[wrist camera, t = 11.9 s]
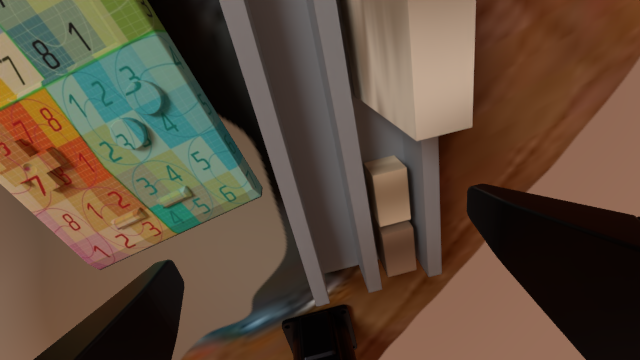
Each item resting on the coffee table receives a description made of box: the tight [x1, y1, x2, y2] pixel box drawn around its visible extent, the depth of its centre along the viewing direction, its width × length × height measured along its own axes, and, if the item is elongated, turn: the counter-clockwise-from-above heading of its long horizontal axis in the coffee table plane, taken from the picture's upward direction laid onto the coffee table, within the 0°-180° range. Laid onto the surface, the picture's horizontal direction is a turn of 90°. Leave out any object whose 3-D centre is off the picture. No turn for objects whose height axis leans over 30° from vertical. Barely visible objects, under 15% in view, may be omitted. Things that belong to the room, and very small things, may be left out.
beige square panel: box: [340, 0, 476, 141], centre depth 12 cm, size 9×2×9 cm, turn 12°
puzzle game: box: [0, 0, 262, 270], centre depth 15 cm, size 12×5×20 cm
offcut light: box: [364, 155, 411, 227], centre depth 20 cm, size 4×2×2 cm, turn 12°
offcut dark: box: [372, 215, 416, 277], centre depth 22 cm, size 4×2×2 cm, turn 12°
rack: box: [219, 0, 442, 306], centre depth 18 cm, size 24×10×4 cm, turn 12°
